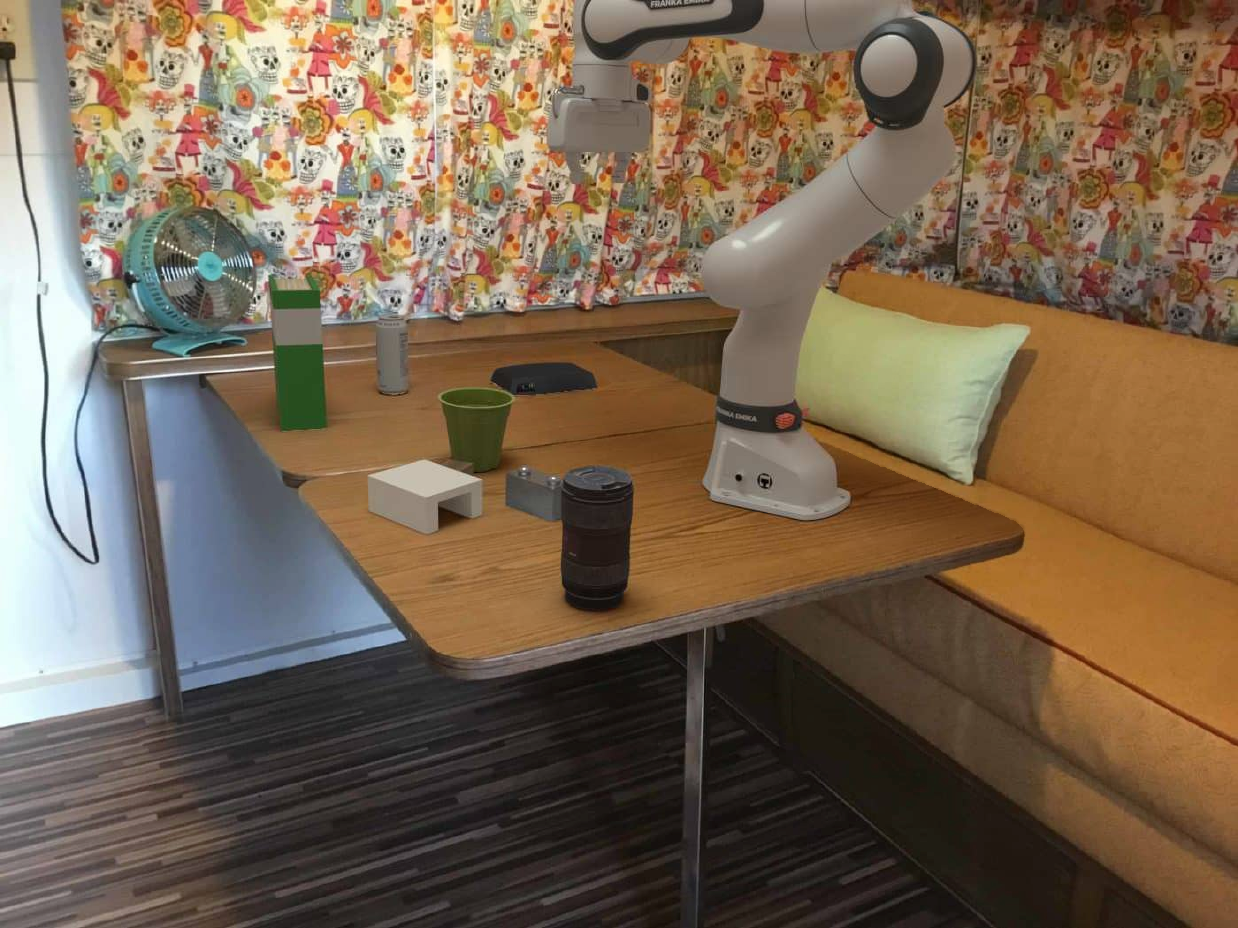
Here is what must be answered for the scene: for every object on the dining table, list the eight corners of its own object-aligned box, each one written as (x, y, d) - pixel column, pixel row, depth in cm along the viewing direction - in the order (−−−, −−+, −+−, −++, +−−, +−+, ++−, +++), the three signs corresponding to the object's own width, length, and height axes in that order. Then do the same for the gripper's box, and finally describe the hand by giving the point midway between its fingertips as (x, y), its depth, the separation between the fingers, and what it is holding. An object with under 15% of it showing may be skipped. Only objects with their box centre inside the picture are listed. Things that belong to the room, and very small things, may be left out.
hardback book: (276, 405, 189) (268, 274, 182) (318, 403, 192) (311, 274, 184) (281, 432, 174) (272, 291, 166) (327, 429, 176) (319, 290, 169)
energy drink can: (382, 387, 204) (379, 313, 200) (412, 389, 204) (410, 314, 199) (374, 395, 199) (371, 318, 194) (404, 396, 198) (402, 320, 194)
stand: (482, 514, 141) (482, 479, 140) (426, 534, 134) (425, 497, 132) (424, 493, 149) (424, 459, 147) (368, 511, 141) (367, 475, 139)
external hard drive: (487, 384, 212) (487, 365, 211) (571, 377, 221) (572, 358, 220) (512, 400, 202) (512, 379, 200) (599, 391, 210) (600, 372, 209)
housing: (571, 515, 143) (572, 476, 141) (552, 522, 140) (552, 483, 138) (525, 499, 148) (525, 461, 147) (505, 506, 146) (505, 467, 144)
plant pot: (458, 482, 153) (457, 410, 150) (426, 460, 163) (425, 391, 159) (528, 471, 160) (528, 401, 156) (493, 450, 169) (493, 384, 166)
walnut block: (473, 488, 152) (473, 463, 150) (460, 497, 148) (460, 471, 147) (449, 484, 153) (449, 459, 151) (436, 493, 149) (435, 467, 148)
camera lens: (544, 596, 118) (546, 473, 113) (595, 577, 124) (599, 459, 119) (591, 621, 113) (596, 493, 108) (643, 600, 118) (649, 478, 114)
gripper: (569, 84, 143) (568, 186, 147) (659, 91, 158) (655, 183, 162) (537, 84, 147) (536, 183, 151) (627, 91, 162) (624, 181, 166)
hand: (598, 183), depth 157 cm, fingers open, 8 cm apart
